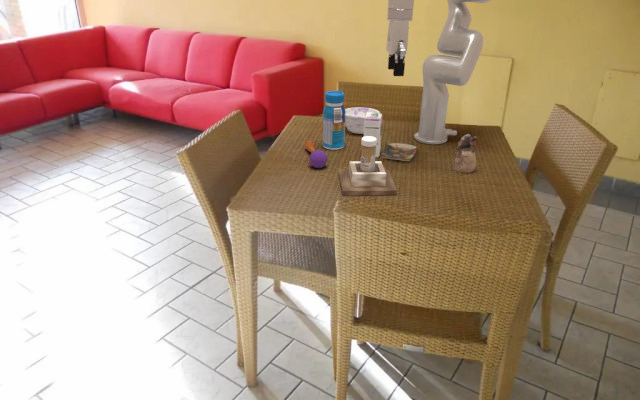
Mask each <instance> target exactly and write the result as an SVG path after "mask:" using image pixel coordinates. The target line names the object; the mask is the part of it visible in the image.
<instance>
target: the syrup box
mask: <svg viewBox="0 0 640 400" xmlns="http://www.w3.org/2000/svg"><path fill="white" fill-rule="evenodd" d="M382 125H383V113H381V112H380V113H374V112H370V113H366V115H365V117H364V134H363V137H365V136H373V137H375V138H376V139H377V144H376V152H375V154H376V155H375V158H379V157H380V154H381V151H382V150H381V146H382Z"/></svg>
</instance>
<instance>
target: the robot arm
mask: <svg viewBox="0 0 640 400" xmlns="http://www.w3.org/2000/svg"><path fill="white" fill-rule="evenodd" d="M490 1H491V0H447V7H448V14H447V18H446V19H445V20H446V21H445V22H444V26H443V28H442V30H441V31H440V35H439V37H438V39H437V43H436V47H437V51H438V52H439V53H440V54H431V55H428V56H427V57H426V58H425V59H424V61H423V63H422V82H423V83H422V85H423V86H422V96H421V97H422V98H421V105H420V106H421V107H420V117H419V126H418V127H419V128H418V131H417V132H415V133H414V135H413V137H414V140H415V141H417V142H418V143H422V144H426V145H441V144H445V143H447V142H448V136H457V135H458V130H453V129H451V128H446V122H447V121H446V120H447V114H448V103H449V98H450V93H449V89H448V87H447V85H451V86H458V87H462V86H465V85H467V84H468V82H469V81H470V79H471V77H472V75H473V72H474V71H475V69H476V68H475V67H476V65H477V63H478V60H479V58H480V56H481V54H482V50H483V47H484V36H483V34H482V32H481V31H479V30H476V29H471V28H470V25H471V23H472V14H471V12H470V10H469V8H468V6H467V4H466V3H476V4H477V3H478V4H485V3H489V2H490ZM414 3H415V0H388V1H387V16H386V17H387V18H386V20H387V21H389V22H388V27H387V29H388V30H387V36H386V47H385V48H386V51H387V53H388V59H387V60H388V62H387V69H388V70H393V71H392V72H393V74H392V75H393V77H404V76H405V75H404V74H405V67H406V66H405V65H406V55H407V52H408V45H409V43H408V42H409V26H410V25H409V23H410V22H412V21H413V17H414V16H413V15H414ZM469 28H470V29H469Z"/></svg>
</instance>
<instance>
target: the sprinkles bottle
mask: <svg viewBox="0 0 640 400" xmlns="http://www.w3.org/2000/svg"><path fill="white" fill-rule="evenodd" d="M360 142H361V143H360V144H361V150H360V151H361V153H360V155H361V156H360V161H361V167H360V169H361V171H360V172H374V170H375V161H376V157H375V155H376V154H375V152H376V144H377V139H376V138H375V137H373V136H365V137H364V136H363V137H361V141H360Z"/></svg>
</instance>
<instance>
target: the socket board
mask: <svg viewBox="0 0 640 400" xmlns="http://www.w3.org/2000/svg"><path fill="white" fill-rule="evenodd" d="M348 162H349V164H348V168H346V169H343V168H342V169H338V177H339V181H340V188H341V192H342V197H344V196H347V197H348V196H353V197H354V196H356V197H357V196H397V195H398V189H397V187H396V185H395V182H394V179H393V176H392V175H391V173H390V171H389V168H385V167H384V165H383V162H382V161H381V160H380V161H379V160H375V170H374V172H360V171H361V169H360V167H361V160H359V161H357V160H356V161H354V160H353V161H348Z"/></svg>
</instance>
